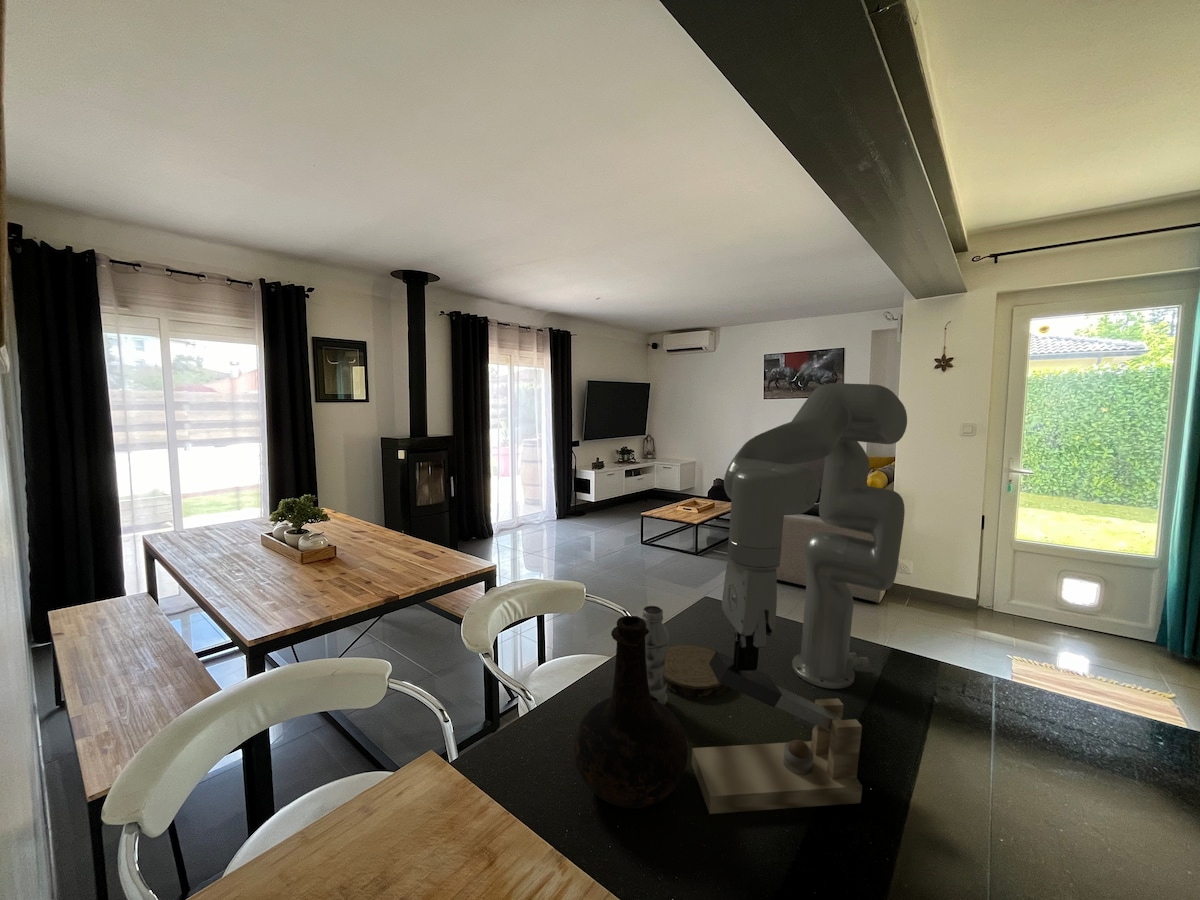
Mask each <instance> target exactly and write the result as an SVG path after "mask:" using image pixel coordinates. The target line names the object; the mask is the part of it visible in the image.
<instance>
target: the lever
mask: <svg viewBox="0 0 1200 900" xmlns="http://www.w3.org/2000/svg"><path fill="white" fill-rule="evenodd" d="M733 660H734V657H730V656H729V655H726V654H724V653H723V652H721V651H720V652H719V651H717V650H716V651H715V654H714V656H713V657H712V659H711V661H710V662H709V665H710V667H711V669H712V670H713V672H714V674H715V676H716V678H717V680H718V682H719V683H721V684H723V685H726V686H728V688H730V689H731V690H732V689H733V690H734V691H736V692H739V693H742V694H744V695H745V696H748V697H750V698H752V699H755V700H757V701H759V702H761V703H764V704H765V705H768V706H770V707H772V708H778V709H780V710H782V711H784V712H787V713H789V714H791V715H792V717H793V718H794V720H795V721H796V722H797V723H799V724H801V725H803V726H806V727H807V728H810V729H812V730H813V728H814V726H815V725H817V726H819V727H821V728H824V729H826V730H828V731H830V732H831V725H832V721H834V720H841V719H840V718H839V717H838V716H837V714H836V713H835V712H833V711H831V710H829V709H826V708H824V707H822V706H820V705H818V704H816V703H815V702H813V701H811V700H809V699H807V698H805V697H803V696H800V695H798V694H796V693H794V692H791V691H790V690H787V689H785V688H783V687H781V686H779V685H777V684H775V682H774V681H773V680H772V678H771V677H770V675H769V674H767V673H764V672H763V671H760V670H759V669H756V670H748V671H738V670H737V669H736V667H735V665H734V664H733Z"/></svg>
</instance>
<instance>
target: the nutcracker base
mask: <svg viewBox="0 0 1200 900" xmlns="http://www.w3.org/2000/svg"><path fill="white" fill-rule="evenodd" d="M814 703H816V704H818V705H820V706H822V707H824V708H826V709H829V710H831V711H833V712H835V713H836V714H837V716H838V717H839V718H840V719H841V720H834V721H832V725H831V732H830V731H828V730H826V729H824V728H821V727H819V726H817V725H815V726H814V728H813V729H812V733H811V740H809V741H808V740H807V741H805V740H804V741H803V740H800V739H793V740H792V741H788V742H774V743H761V744H759V743H758V744H757V743H756V744H755V743H754V744H743V745H741V744H739V745H725V746H707V747H693V748H691V766H693V767H692V769H694V770H693V772H694V771H695V772H694V775H695V774H696V775H695V778H696V777H697V778H696V780H698V781H697V783H699V784H698V786H699V789H700V792H701V794H702V797H703V799H704V803H705V805H706V808H707V809H706V810H707V812H708V814H709V815H713V814H726V813H727V814H728V813H739V812H756V811H769V810H781V809H784V810H785V809H797V808H811V807H822V806H823V807H825V806H839V805H851V804H852V805H853V804H861V803H862V794H863V785H862V783H861V782H860V780H859V779H858V778H857V777H858V776H857V775H858V768H859V767H858V766H859V761H860V760H859V758H860V749H861V740H862V730H863V726H862V724H861V723H860V722H859V721H858V719H855V718H854V719H843V714H844V703H843V702H842V701H841V700H840V699H839V698H822V699H821V698H820V699H815V700H814Z"/></svg>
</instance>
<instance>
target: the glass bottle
mask: <svg viewBox="0 0 1200 900" xmlns="http://www.w3.org/2000/svg"><path fill="white" fill-rule="evenodd" d="M648 633H649V630H648V629H647V628H646V623H645V621H644V620H643V619H642V617H640V616H637V615H624V616H620V617H619V618H618V620H617V621H616V626H615V627H614V628H612V630H611V634H610V635H611V636H612V639H613V640H614V641H616V647H615V648H616V649H615V650H616V651H615V664H614V665H615V666H614V677H613V685H612V691H611V692H612V693H611V697H608V698H605V699H603V700H601V701H600V702H598V703H596V704H595V705H594V706H593V707H591V708H590V709H589V710H588V711H587V712H586V713H585V714H584V716H583V718H581V721H580V723H579V725H578V727H577V730H576V733H575V737H574V741H573V742H574V746H573V754H574V762H575V767H576V769H577V771H578V772H579V774H580V776H581V778H582V780H583V781H584V783H585V784H586V786H588V788H589V789H590V791H592V792H593V793H594V794H595V795H596V796H597V797H599V798H600V799H601V800H602V801H603V800H604V802H606V803H609V804H611V805H613V806H617V807H619V808H624V809H625V808H626V809H641V808H645V807H649V806H652V805H655V804H657V803H659V802H661V801H662V800H664V799H665V798H666V797H668V796H669V795H670V794H671V793H672V792H673V791H674V790H675V789H676V787H677V786H678V784H679V783H680V782H681V780H682V778H683V776H684V773H685V770H686V768H687V763H688V758H689V757H688V756H689V745H688V740H687V736H686V734H685V730H684V728H683V726H682V724H681V722H680V720H679V719H678V718H677V717H676V715H675V714H674V713H673V712H672V711H671V710H670V709H669V708H668V707H667V706H665V705H663V704H661V703H659V702H657V701H658V699H657V698H655V697H653V696H650V691H649V685H648V679H647V668H646V651H645V636H646V635H647V634H648Z"/></svg>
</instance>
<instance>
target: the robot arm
mask: <svg viewBox="0 0 1200 900" xmlns="http://www.w3.org/2000/svg"><path fill="white" fill-rule="evenodd" d="M800 407H801V408H799V410H798V411H797V413H796V414H795V416H794V417H793V418H792V419H791V421H790V422H786V423H783V424H781V425H779V426H775V427H774V428H771V429H769V430H766V431H764V432H762V433H759V434H758V435H755V436H754V437H751V438H750V439H749V440H748V441H746V442H745V443H744V444H743V445H742V447H741V448H740V449H739V450H738V451H737V453H736V454H735V456H734V457H733V458H732V459H731V461H730V463H729V464H728V467H727V468H726V472H725V474H724V479H723V489H724V491H725V493H726V496H727V497H728V499H730V500H731V502H730V513H729V514H730V516H729V529H728V531H729V532H728V542H727V543H728V544H727V556H726V557H727V558H726V559H727V564H726V569H725V575H724V581H723V582H724V583H723V591H722V600H721V610H722V611H723V614H724V615H725V616H726V618H727V619H728V620H729V622H730V624H732V626H733V628H734V630H733V631H734V633H733V634H734V639H735V641H734V649H733V659H734V660H733V664H734V665H735V667H736V669H737V670H738V671H748V670H758V663H759V650H760V648H763V649H764V648H766V647H767V636H769V637H771V636H772V635H773V634H774V632H775V628H776V621H777V607H778V606H777V605H778V604H777V603H778V602H777V600H778V596H777V595H778V580H777V577H778V576H777V574H778V573H777V569H779V568H780V566H781V555H782V543H783V542H782V541H783V529H784V519H785V516H796V515H802V514H804V513H807V512H808V511H809V510H811V509H812V508H813V506H814V505H815V504H816V503H817V502H818V499H819V503H818V515H819V518H820V519H821V521H822V522H823V523H825V524H827V525H830V526H833V527H837V528H841V529H844V530H845V529H846V530H852V531H855V532H860V533H866V534H870V535H871V536H872V538H873V540H869V539H865V538H864V539H863V538H861V537H860V538H859V537H855V536H851V535H847V534H841V533H837V532H833V531H831V532H830V531H817V532H815V533H813V534H811V535H810V536H808V538H807V540H806V542H805V544H804V551H803V554H804V563H805V577H806V579H805V583H806V584H805V586H806V587H805V597H804V609H803V622H802V632H801V633H802V634H801V646H800V648H801V649H800V653H799V654H797V655H795V656H794V657H793V659H792V662H791V663H792V665H791V666H792V667H791V668H792V670H793V671H794V673H795V674H796V676H798V677H800V678H801V679H802V680H803V681H805V682H807V683H809V684H811V685H814V686H816V687H819V688H826V689H831V690H832V689H833V690H834V689H835V690H837V689H845V688H848V687H850V686H852V684H854V681H855V677H856V675H855V672H854V670H853V669H856V668H857V667H859V668H861V667H869V666H870V660H869V658H868V657H867V656H859V657H858V655H857V653H856V652H850V644H851V635H852V634H851V633H852V622H853V613H854V604H855V603H854V598H853V595H852V592H851V589H850V588H849V586H848V584H850V585H854V586H858V587H862V588H866V589H870V590H873V591H874V590H875V591H886V590H887V591H888V590H889V589H891V588H892V586H893V585H894V584H895V583H894V582H895V580H896V577H897V572H898V565H899V559H900V551H901V545H902V536H903V529H904V523H905V522H904V521H905V510H906V509H905V504H904V499H903V497H902V496H901V495H900V494H899V493H898V492H897V491H894V490H892V489H888V488H883V487H877V486H876V487H875V486H871V485H870V486H869V484H868V478H869V477H868V476H869V471H870V470H869V469H870V459H869V456H868V455H867V453H866V451H865V449H864V448H863V446H862V445H861V443H870V444H878V445H879V444H881V445H893V444H896V443H898V442H899V441H900V440H901V439H902V438H903V436H904V434H905V433H906V430H907V426H908V415H907V410H906V407H905V406H904V404H903V402H902V401H901V400H900V399H899V397H898V396H897V395H896V394H895V393H894V391H892V390H891V389H889V388H887V387H885V386H883V385H879V384H874V383H872V384H871V383H870V384H869V383H868V384H867V383H841V382H832V383H831V382H830V383H825V384H822V385H819V386H818V387H816V388H814V390H813V391H812V392H811V394H809V396H808V398H807V399H806V400H805V402H804V403H803V404H802V406H800ZM859 442H861V443H859ZM821 459H824V467H823V473H822V475H823V476H822V482H821V487H820V481H819V479H818V477H817V475H816V473H814V471H812V470H811V469H809V468H807V467H804V466H803V465H802V466H801V465H798V464H804V463H809V462H814V461H818V460H819V461H820V460H821ZM820 489H821V490H820Z"/></svg>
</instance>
